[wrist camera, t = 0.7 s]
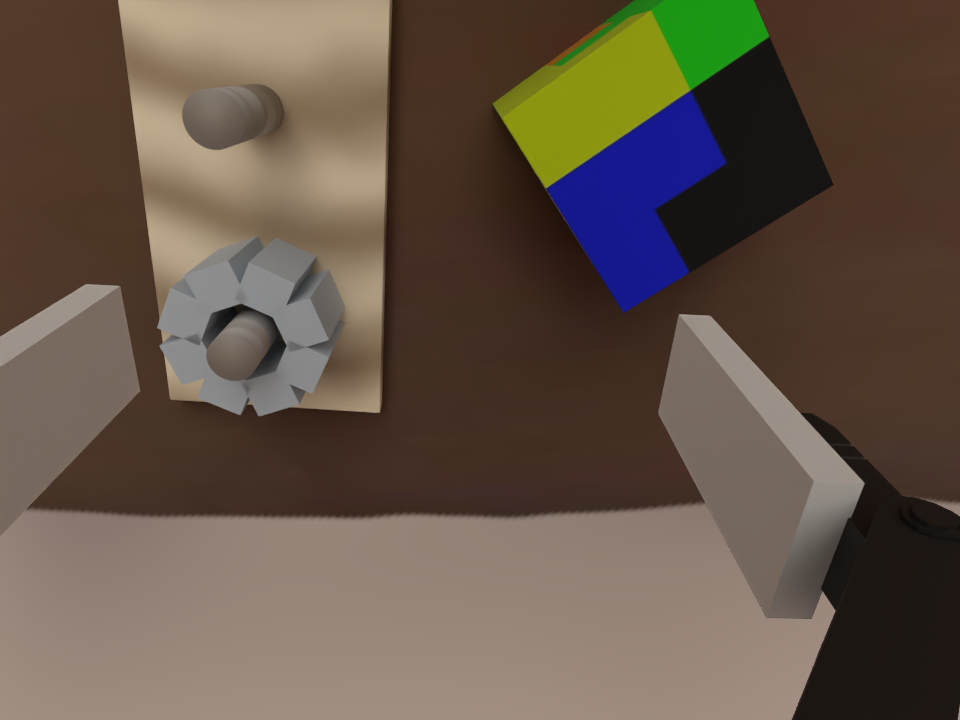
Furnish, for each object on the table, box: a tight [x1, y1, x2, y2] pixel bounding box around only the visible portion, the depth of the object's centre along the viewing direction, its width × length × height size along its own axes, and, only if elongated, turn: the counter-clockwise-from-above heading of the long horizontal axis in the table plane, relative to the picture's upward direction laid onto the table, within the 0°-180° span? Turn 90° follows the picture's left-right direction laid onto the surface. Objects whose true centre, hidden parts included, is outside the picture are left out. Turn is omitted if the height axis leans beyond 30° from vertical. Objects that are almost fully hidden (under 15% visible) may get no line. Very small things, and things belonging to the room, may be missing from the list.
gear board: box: [118, 0, 392, 413], centre depth 33 cm, size 24×13×8 cm, turn 175°
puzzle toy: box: [493, 0, 833, 313], centre depth 31 cm, size 10×10×10 cm
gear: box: [157, 236, 345, 416], centre depth 35 cm, size 8×8×5 cm
